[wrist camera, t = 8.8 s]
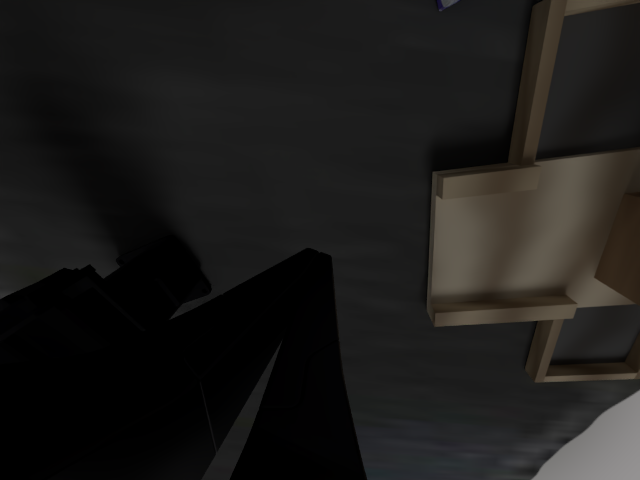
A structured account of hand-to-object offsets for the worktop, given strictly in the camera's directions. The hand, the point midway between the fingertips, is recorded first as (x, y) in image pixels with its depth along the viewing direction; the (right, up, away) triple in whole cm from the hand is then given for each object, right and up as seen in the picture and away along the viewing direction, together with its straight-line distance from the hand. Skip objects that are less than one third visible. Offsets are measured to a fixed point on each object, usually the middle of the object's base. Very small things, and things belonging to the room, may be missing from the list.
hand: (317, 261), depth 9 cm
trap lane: (+20, +1, +12) cm, 24 cm away
